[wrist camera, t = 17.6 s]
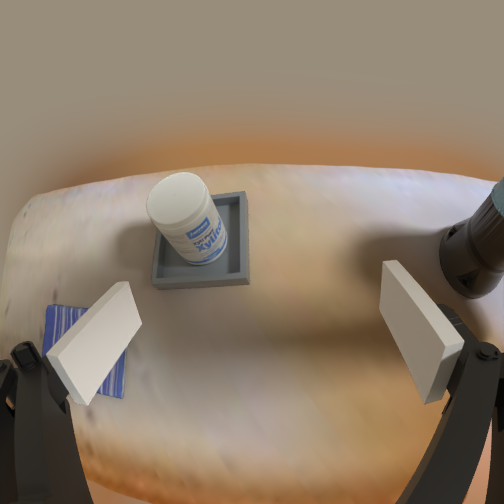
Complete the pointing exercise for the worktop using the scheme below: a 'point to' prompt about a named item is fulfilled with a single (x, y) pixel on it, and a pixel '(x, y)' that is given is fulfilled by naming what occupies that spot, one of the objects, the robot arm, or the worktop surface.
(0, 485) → the robot arm
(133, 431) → the worktop surface
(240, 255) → the tray
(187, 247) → the supplement tub
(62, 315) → the dish towel
